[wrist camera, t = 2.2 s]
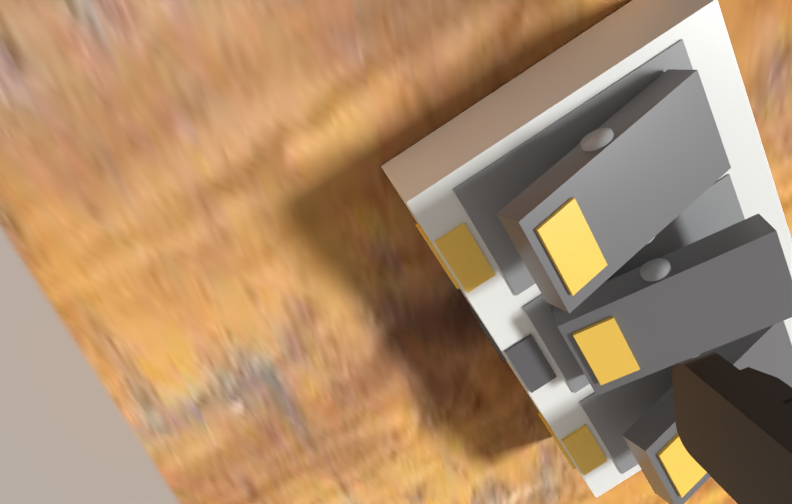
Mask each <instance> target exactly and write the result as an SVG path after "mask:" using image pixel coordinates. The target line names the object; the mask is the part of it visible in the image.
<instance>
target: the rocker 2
mask: <svg viewBox="0 0 792 504" xmlns="http://www.w3.org/2000/svg"><path fill="white" fill-rule="evenodd" d="M550 308H551V310H552V313H553V316H554V319H555V322H556V325H557V327H558V329H559V331H560V332H561V334H562V336H563V338H564V339H565V341H566V343H567V345H568V346H569V348H570V350H571V351H572V353H573V355H574V357H575V358H576V360H577V362H578V364H579V365H580V367H581V369H582V371H583V372H584V374H585V376H586V378H587V379H588V381H589V383H590V385H591V386H592V388H593V390H594V392H595V393H596V395H597V396H598V395H600V394H602V393H605V392H607V391H610V390H612V389H615V388H617V387H620V386H622V385H625V384H627V383H630V382H632V381H635V380H637V379H640V378H642V377H645V376H647V375H650V374H652V373H655V372H657V371H660V370H662V369H665V368H667V367H670V366H672V365H675V364H677V363H679V362H682V361H684V360H687V359H689V358H693V357H696V356H698V355H700V354H702V353H704V352H707V351H709V350H712V349H714V348H717V347H719V346H722V345H724V344H727V343H729V342H732V341H734V340H737V339H739V338H742V337H744V336H747V335H749V334H752V333H754V332H757V331H759V330H761V329H764V328H766V327H769V326H771V325H774V324H776V323H779V322H781V321H784V320H786V319H789V318H791V317H792V278H791V274H790V271H789V268H788V265H787V262H786V259H785V256H784V253H783V250H782V247H781V243H780V240H779V237H778V234H777V231H776V230H775V229H774V228H773V227H772V226H771V225H770V224H769V223H768V222H767V221H766V220H765V219H764V218H763V217H762V216H761V215H760V214H759V213H758V214H756V215H754V216H752V217H749V218H747V219H745V220H743V221H741V222H738V223H736V224H734V225H732V226H729V227H727V228H725V229H723V230H720V231H718V232H716V233H714V234H711V235H709V236H707V237H705V238H703V239H700V240H698V241H696V242H694V243H691V244H689V245H687V246H685V247H682V248H680V249H678V250H676V251H673V252H671V253H669V254H667V255H665V256H662V257H660V258H658V259H653V260H650V261H648V262H646V263H645V264H644V265H642V266H640V267H638V268H636V269H633V270H631V271H629V272H627V273H624V274H622V275H620V276H618V277H615V278H613V279H611V280H609V281H606V282H604V283H603V284H602V285H601V286H600V287H598V288H597V289H596V290H595V291H594V292H593V293H592V294H591V295H590V296H589V297H587V298H586V299H585V300H584V301H583V302H582V303H581V304H580V305H579V306H577V307H576V308H575V309H574V310H573V311H572V312H571V313H570V314H569V313H567V312H565V311H563V310H561V309H559V308H557V307H555V306H551V307H550Z"/></svg>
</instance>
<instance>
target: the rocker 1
mask: <svg viewBox="0 0 792 504" xmlns="http://www.w3.org/2000/svg"><path fill="white" fill-rule="evenodd" d="M730 168H731V166H730V163H729V160H728V157H727V154H726V151H725V149H724V146H723V143H722V140H721V137H720V134H719V131H718V128H717V125H716V122H715V119H714V117H713V114H712V111H711V108H710V105H709V102H708V99H707V96H706V93H705V90H704V87H703V85H702V82H701V79H700V76H699V73H698V70H677V69H668V70H666V71H665V72H664V73H663V74H662V75H660V76H659V77H658V78H657V79H656V80H655V81H653V82H652V83H651V84H650V85H649V86H647V87H646V88H645V89H644V90H643V91H641V92H640V93H639V94H638V95H637V96H635V97H634V98H633V99H632V100H631V101H630V102H628V103H627V104H626V105H625V106H624V107H622V108H621V109H620V110H619V111H618V112H616V113H615V114H614V115H613V116H612V117H611V118H609V119H608V120H607V121H606V122H605V123H603V124H602V125H601V126H600V127H599V128H597V129H596V130H595V131H592V132H590V133H589V134H587V135H586V136H585V137H584V138H583V139H582V140H581V142H580V144H578V145H577V146H576V147H575V148H574V149H573V150H571V151H570V152H569V153H568V154H567V155H565V156H564V157H563V158H562V159H561V160H559V161H558V162H557V163H556V164H555V165H554V166H552V167H551V168H550V169H549V170H548V171H546V172H545V173H544V174H543V175H542V176H540V177H539V178H538V179H537V180H536V181H534V182H533V183H532V184H531V185H530V186H529V187H527V188H526V189H525V190H524V191H523V192H521V193H520V194H519V195H518V196H517V197H515V198H514V199H513V200H512V201H511V202H510V203H508V204H507V205H506V206H505V207H504V208H502V209H501V210H500V211H499V212H498V213H496V214H497V216H498V218H499V220H500V221H501V223H502V225H503V227H504V228H505V230H506V232H507V234H508V235H509V237H510V239H511V241H512V242H513V244H514V246H515V248H516V249H517V251H518V253H519V255H520V256H521V258H522V260H523V262H524V264H525V265H526V267H527V269H528V271H529V272H530V274H531V276H532V278H533V279H534V281H535V283H536V285H537V286H538V288H539V290H540V292H541V293H542V295H543V297H544V299H545V300H546V302H548V303H550V304H551V305H553V306H555V307H557V308H559V309H561V310H563V311H565V312H567V313H569V314H570V313H571V312H572V311H573V310H574V309H575V308H576V307H577V306H579V305H580V304H581V303H582V302H583V301H584V300H585V299H586V298H587V297H589V296H590V295H591V294H592V293H593V292H594V291H595V290H596V289H597V288H598V287H600V286H601V285H602V284H603V283H604V282H605V281H606V280H607V279H608V278H610V277H611V276H612V275H613V274H614V273H615V272H616V271H617V270H618V269H620V268H621V267H622V266H623V265H624V264H625V263H626V262H627V261H628V260H629V259H631V258H632V257H633V256H634V255H635V254H636V253H637V252H638V251H639V250H641V249H642V248H643V247H644V246H645V245H646V244H648V243H650V242H651V241H652V240H653V239H654V238H655V236H656V235H657V234H658V233H659V232H660V231H662V230H663V229H664V228H665V227H666V226H667V225H668V224H669V223H670V222H672V221H673V220H674V219H675V218H676V217H677V216H678V215H679V214H680V213H682V212H683V211H684V210H685V209H686V208H687V207H688V206H689V205H690V204H691V203H693V202H694V201H695V200H696V199H697V198H698V197H699V196H700V195H701V194H703V193H704V192H705V191H706V190H707V189H708V188H709V187H710V186H711V185H713V184H714V183H715V182H716V181H717V180H718V179H719V178H720V177H721V176H722V175H724V174H725V173H726V172H727V171H728V170H729V169H730Z"/></svg>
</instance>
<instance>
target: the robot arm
mask: <svg viewBox="0 0 792 504" xmlns="http://www.w3.org/2000/svg"><path fill="white" fill-rule="evenodd" d="M672 381H673V395H674V409H675V423H676V429H677V432H678V435H679V438H680V440H681V442H682V444H683V446H684V447H685V449H686V450H687V452H688V453H689V454H690V455H691V457H692V458H693V459H694V460H695V461H696V462H697V463H698V464H699V465H700V466H701V467H702V468H703V469H704V470H705V471H706V472H707V473H708V474H709V475H710V476H711V477H712V478H713V479H714V480H715V481H716V482H717V483H718V484H719V485H720V486H721V487H722V488H723V489H724V490H725V491H726V492H727V493H728V494H729V495H730V496H731V497H732V498H733V499H734V500H735V501H736V502H737V503H738V504H792V387H790V386H789V385H787V384H786V383H785V382H783V381H782V380H780V379H779V378H777V377H774V376H772V375H769V374H766V373H763V372H761V371H758V370H755V369H753V368H750V367H747V368H744V369H741V370H739V369H738V368H736V367H735V366H734V365H732V364H731V363H730V362H728V361H727V360H726V359H724V358H723V357H722V356H720V355H719V354H717V353H715V352H707V353H704V354H702V355H699V356H696V357H693V358H691V359H688V360H685V361H682V362H680V363H677V364H675V365H674V366H673V369H672Z"/></svg>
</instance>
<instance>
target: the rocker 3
mask: <svg viewBox="0 0 792 504" xmlns="http://www.w3.org/2000/svg"><path fill="white" fill-rule="evenodd" d="M708 352H715V353H717V354H719V355H720V356H722V357H723V358H724V359H726V360H727V361H728V362H730V363H731V364H732V365H734V366H735V367H736V368H738V369H739V370H741V369H744V368H747V367H750V368H753V369H755V370H758V371H761V372H763V373H766V374H769V375H772V376H774V377H777V378H779V379H780V380H782V381H783V382H785V383H786V384H787V385H789V386H790V387H792V344H791V341H790V338H789V335H788V332H787V329H786V326H785V323H784V321H781V322H779V323H776V324H774V325H771V326H769V327H766V328H764V329H761V330H759V331H757V332H754V333H752V334H749V335H747V336H744V337H742V338H739V339H737V340H734V341H732V342H729V343H727V344H724V345H722V346H719V347H717V348H714V349H712V350H709V351H708ZM622 436H623V438H624V439H625V441H626V443H627V445H628V446H629V448H630V450H631V452H632V453H633V455H634V457H635V459H636V460H637V462H638V464H639V466H640V467H641V469H642V471H643V473H644V475H645V476H646V478H647V480H648V482H649V483H650V485H651V487H652V489H653V490H654V492H655V493H656V494H657V495H659V496H660V497H661V498H663V499H664V500H665V501H667V502H668V503H669V504H684V503H685V502H686V501H687V500H688V499H689V498H690V497H691V496H692V495H693V494H694V493H695V492H696V491H697V490H698V489H699V488H700V487H701V486H702V485H703V484H704V483H705V482H706V481H707V480H708V479H709V477H710V475H709V474H708V473H707V472H706V471H705V470H704V469H703V468H702V467H701V466H700V465H699V464H698V463H697V462H696V461H695V460H694V459H693V458H692V457H691V455H690V454H689V453H688V452H687V450H686V449H685V447H684V446H683V444H682V442H681V440H680V438H679V435H678V432H677V429H676V423H675V409H674V395H673V386H672V387H671V388H670V389H669V390H668V391H667V392H666V393H665V394H664V395H663V396H662V397H661V398H660V399H659V400H658V401H657V402H656V403H655V404H654V405H653V406H652V407H650V408H649V409H648V410H647V411H646V412H645V413H644V414H643V415H642V416H641V417H640V418H639V419H638V420H637V421H636V422H635V423H634V424H633V425H632V426H631V427H630V428H629V429H628V430H627V431H626V432H625V433H624V434H623V435H622Z"/></svg>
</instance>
